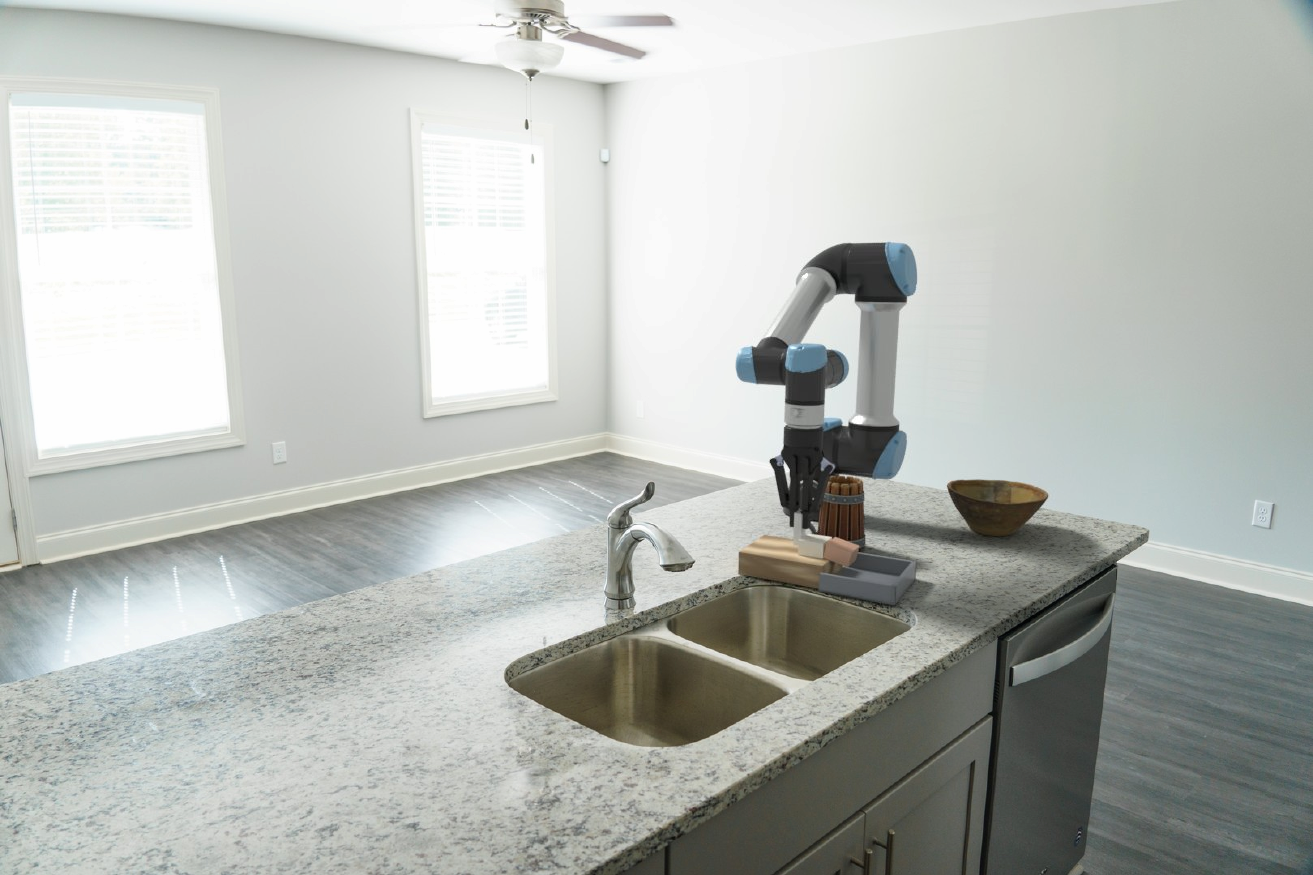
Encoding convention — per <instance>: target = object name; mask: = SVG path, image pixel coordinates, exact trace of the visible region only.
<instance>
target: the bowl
mask: <svg viewBox="0 0 1313 875" xmlns="http://www.w3.org/2000/svg"><path fill="white" fill-rule="evenodd" d="M946 488H947V491H948V494H949V496H950V499H951V501H952V503H953V505H954V507H955V509H956V510H957V511H958V513H959V514H960V515H961V517H962V518H963V520H964V521H965V522H966V524H967V525H968V528H969V529H970V530H971V531H973V532H974V533H978V534H982V535H986V536H992V537H1006V536H1010V535H1011V536H1012V535H1013V534H1014V533H1015V532H1016V531H1018V529H1021V528H1022V527H1023V526H1024V525H1025V524H1026V523H1027V522H1028V521H1029V520H1030V519H1032V518H1033V516H1034V515H1035V514H1036V513H1037V512H1038V511H1039V510H1040V509H1041V508H1042V506H1043V505H1044V504H1045V503H1046V501H1047V500H1048V498H1049V494H1048V492H1047V491H1046V490H1044V489H1042V488H1040V487H1038V486H1035V485H1032V484H1029V483H1025V482H1019V481H1010V480H1002V479H955V480H950V481H949V482H948V483H947V485H946Z"/></svg>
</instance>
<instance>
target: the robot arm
mask: <svg viewBox="0 0 1313 875" xmlns="http://www.w3.org/2000/svg"><path fill="white" fill-rule="evenodd" d="M917 284H918V270H917V262H916V257H915V255H914V252H913V249H912V248H911V247H910V246H909V245H908V244H907V243H903V242H891V241H887V242H855V243H854V242H853V243H852V242H843V243H838V244H835V245H833V246H830V247H828V248H826V249H825V250H822V251H821V252H818V254H816V255H815V256H814V257H813V258H811V259H810V260H809V261H808V262H807V263H806V264H805V265H804V266H803V267H802V268H801V270H800V271H799V273H798V274H797V277H796V280H795V287H794V289H793V290H792V292H791V293H790V295H789V297H788V299H786V301H785V303H784V304H783V306H782V307H781V309H780V310H779V312H778V313H777V315H776V317H775V318H774V319H773V321H772V323H771V324H770V326H769V327H768V329H767V330H766V332H765V333H764V335H763V337H762V338H761V339H760V341H758V343H757V345H756V346H754V345H750V346H743V347H741V348H740V350H739V351H738V352H737V354H736V358H735V371H736V375H737V378H738V379H739V381H741V382H742V383H747V384H748V383H749V384H755V385H767V386H782V387H783V386H785V388H784V389H785V392H784V395H785V396H784V415H783V416H784V418H783V422H784V423H785V424H786V425H785V426H783V439H782V440H783V442H782V443H783V447H782V449H781V451H780V453H779V455H777V456H774V457H772V458H770V459H769V461H768V462H769V464H770V466H771V467H772V470H773V473H774V477H775V481H776V488H777V494H778V498H779V504H780V506H781V508H782V512H783V513H784V514H785V515H787V516H788V517H789V527H790V528H793V545H796V546H798V542H799V539H801V538H802V537H803V536H805V535H806V534H807V533H806V532H807V531H806V530H808V529H809V527H810V525H811V523H812V522H811V521H819V514H820V508H821V505H822V502H823V498H824V495H825V491H826V488H827V484H828V481H829V478H830V477H831V476H836V477H838V476H840V475H842V476H851V477H861V478H867V479H872V480H878V479H879V480H887V481H888V480H892V479H894V478H895V477H896V476H897V475H898V473H899V471H900V469H901V468H902V466H903V462H904V459H905V455H906V453H907V452H906V451H907V446H908V440H907V433H906V432H905V431H903V430H900V421H899V420H898V419H897V418H896V416H895V415H894V407H895V388H896V377H897V376H896V374H897V373H896V372H897V360H898V359H897V358H898V356H897V355H898V342H899V326H900V325H899V324H900V311H901V310H902V309H903V308H904V307H905V306H906V305H907V304H908V303H907V302H908V297H911V296H913V295H914V294H915V293H916V290H917ZM837 295H854V304H855V305H856V306H857V307H858V308H859V310H860V320H859V323H860V324H859V340H858V357H857V358H858V360H857V379H856V380H857V381H856V394H855V395H856V398H855V412H854V414H853V415H852V416H851V417H850V418H849V419H848V424H847V425H843V423H844V422H843V420H842V419H841V418H839V417H838V418H837V417H825V404H826V403H825V402H826V401H825V400H826V399H825V398H826V390H828V389H833V388H835V387H837V386H838V385H839V386H840V384H842V383H843V382H844V381H845V380H846V379H847V377H848V375H849V371H850V365H849V361H848V359H847V357H846V356H845V355H844V354H843V353H842V352H841V351H839V350H837V349H827V347H826V346H825V345H823V344H820V343H807V342H806V343H805V342H803V340H804V338H805V336H806V335H807V333H808V332H809V330H810V329H811V327H812V326H813V324H814V321H816V319H817V317H818V315H819V314H820V312H821V310H823V307H824V305H825V304H828V303H829V302H831V301H832V300H833V299H834V298H835V296H837ZM784 465H786V466H787V467H788V469H789V478H790V479H789V485H788V479H787V474H786V470H785V466H784ZM802 480H803V488H802V489H801V490H800V482H801V481H802ZM813 480H814V481H816V482H817V483H818V485H817V488H815V487H813ZM813 498H814V499H813ZM799 508H800V510H798V509H799Z"/></svg>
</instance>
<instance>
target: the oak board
mask: <svg viewBox="0 0 1313 875" xmlns="http://www.w3.org/2000/svg"><path fill="white" fill-rule="evenodd" d="M842 567H844V566H843V565H841V564H838V563H835V562H833V561H830V560H828V559H825V558H823V559H821V558H814V557H808V556H802V555H798V546H796V545H793V539H792V538H788V537H787V538H786V537H783V536H782V537H781V536H774V535H768V534H763V535H762V536H760V537H759V538H757V539H756V540H754V541H753V542H751V543H749V544H748V545H747V546H746V547H744V548H742V549H741V550H740V551H738V568H737V569H738V572H737V573H738V575H743V576H748V577H749V576H750V577H755V578H759V579H765V580H770V581H775V582H781V583H787V584H790V585H791V584H792V585H797V586H802V587H807V588H808V587H809V588H814V589H818V590H819V578H820V573H821V572H822V573H827V574H833V575H835V574H836V573H837V572H838V571H839V570H840V569H841V568H842Z"/></svg>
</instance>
